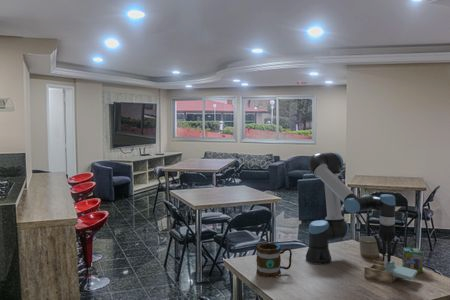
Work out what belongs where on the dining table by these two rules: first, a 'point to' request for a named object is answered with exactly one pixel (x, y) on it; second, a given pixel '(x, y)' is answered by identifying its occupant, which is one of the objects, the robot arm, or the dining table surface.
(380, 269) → the oak case
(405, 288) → the dining table surface
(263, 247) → the mug
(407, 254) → the chalk box
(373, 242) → the planter
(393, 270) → the cover plate
